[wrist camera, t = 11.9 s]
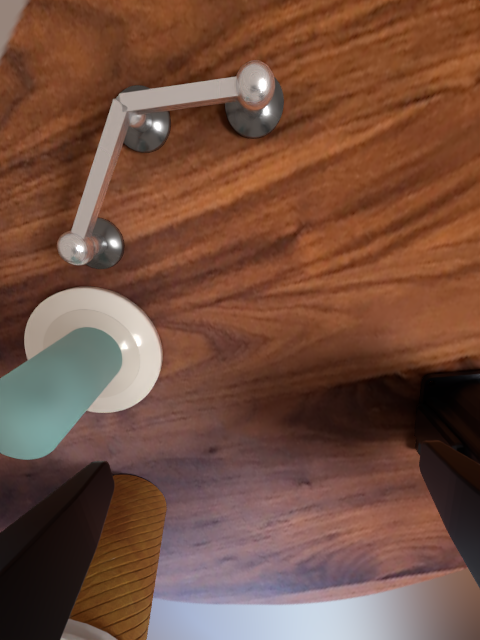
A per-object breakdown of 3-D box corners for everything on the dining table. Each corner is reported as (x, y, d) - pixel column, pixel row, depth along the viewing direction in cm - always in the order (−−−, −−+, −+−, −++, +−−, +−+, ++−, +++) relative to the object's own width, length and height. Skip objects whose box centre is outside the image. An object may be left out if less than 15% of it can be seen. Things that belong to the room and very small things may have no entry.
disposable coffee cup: (49, 493, 26) (-109, 712, 14) (130, 437, 24) (18, 645, 12) (129, 558, 28) (45, 791, 17) (209, 513, 26) (176, 746, 15)
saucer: (148, 279, 19) (143, 282, 19) (173, 401, 22) (170, 408, 22) (13, 293, 20) (3, 296, 19) (55, 410, 23) (47, 417, 22)
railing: (280, 67, 16) (288, 27, 12) (290, 248, 19) (299, 256, 15) (37, 103, 17) (-18, 75, 13) (83, 270, 19) (48, 282, 16)
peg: (128, 379, 21) (71, 456, 14) (71, 384, 21) (-10, 462, 15) (114, 324, 20) (44, 380, 13) (54, 330, 20) (-45, 388, 13)
